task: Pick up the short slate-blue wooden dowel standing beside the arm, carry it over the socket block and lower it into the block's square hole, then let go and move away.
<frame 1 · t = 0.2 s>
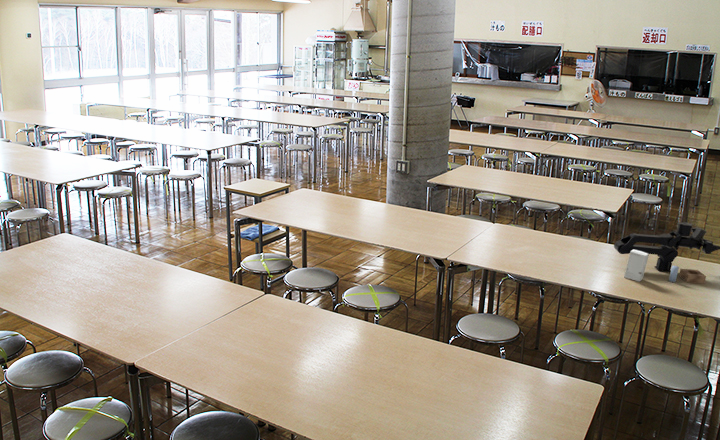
hand: (716, 245, 319), 16 cm above the table, tool horizontal, fingers open, 9 cm apart
peg: (672, 280, 310), on the table
skincare box: (633, 278, 311), on the table
socket block: (691, 279, 313), on the table
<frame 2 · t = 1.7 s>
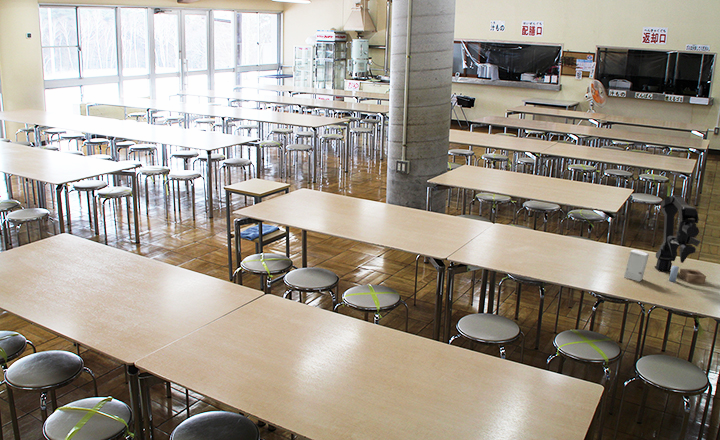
hand: (677, 259, 306), 12 cm above the table, tool pointing down, fingers open, 9 cm apart
nothing on the table moved.
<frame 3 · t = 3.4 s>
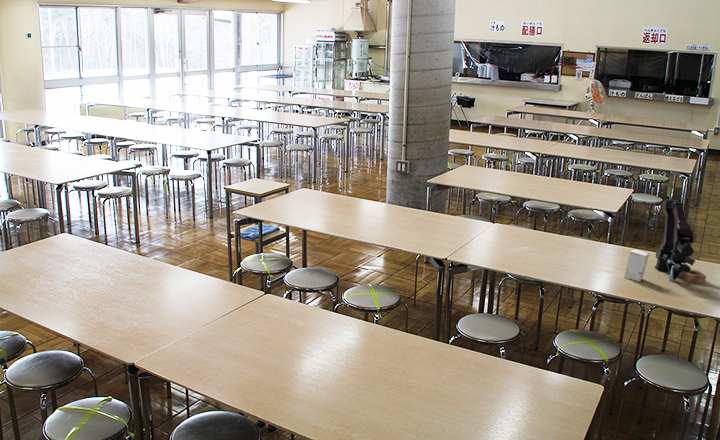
hand: (672, 278, 309), 2 cm above the table, tool pointing down, fingers closed on peg, 3 cm apart
peg: (672, 280, 310), on the table, touching gripper
everything else where it was.
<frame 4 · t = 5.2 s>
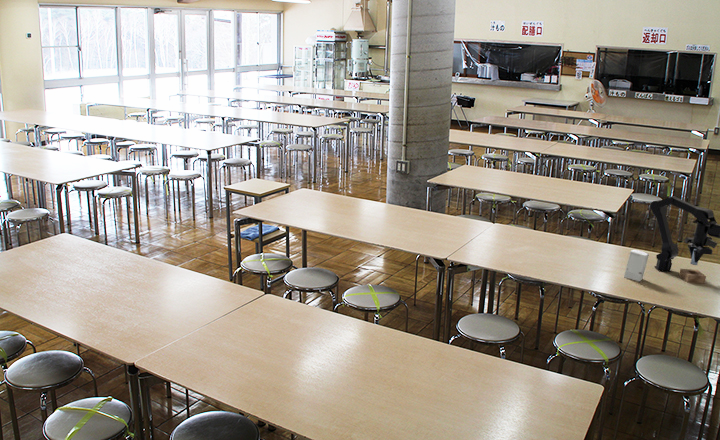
hand: (694, 261, 310), 11 cm above the table, tool pointing down, fingers closed on peg, 3 cm apart
peg: (693, 264, 310), point 9 cm above the table, touching gripper
everything else where it was.
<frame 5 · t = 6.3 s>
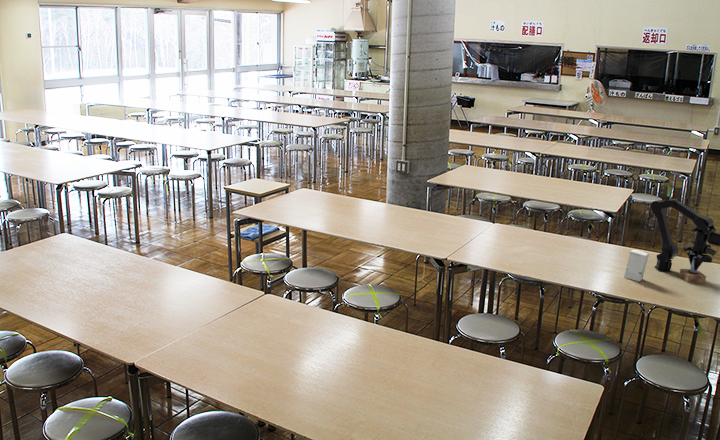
hand: (693, 268, 312), 6 cm above the table, tool pointing down, fingers closed on peg, 3 cm apart
peg: (693, 271, 312), point 4 cm above the table, touching gripper
everything else where it was.
when the fingers open (5 cm above the table, at t = 6.9 s): peg drops 3 cm, resting in socket block.
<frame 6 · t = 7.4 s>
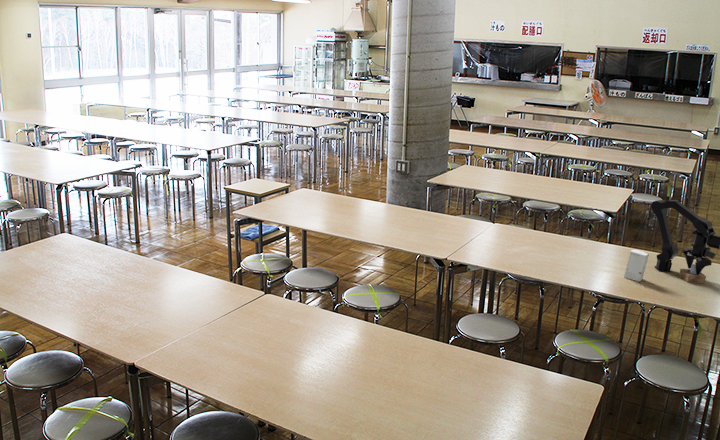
hand: (693, 271, 312), 4 cm above the table, tool pointing down, fingers open, 8 cm apart
peg: (691, 279, 313), resting in socket block
everything else where it was.
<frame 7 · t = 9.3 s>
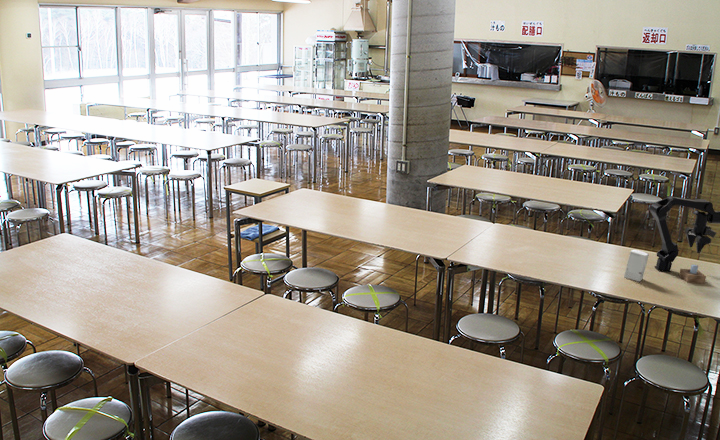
hand: (694, 250, 322), 12 cm above the table, tool pointing down, fingers open, 9 cm apart
nothing on the table moved.
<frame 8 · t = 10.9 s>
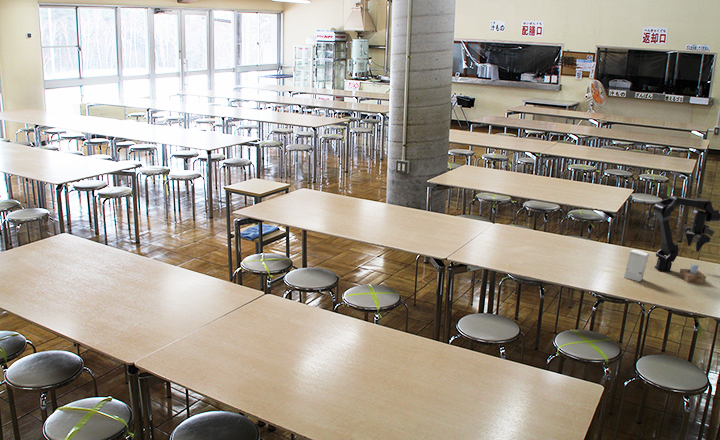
hand: (693, 248, 325), 12 cm above the table, tool pointing down, fingers open, 9 cm apart
nothing on the table moved.
at the end: peg 0.0 cm off-centre on the socket block, point 0.0 cm above the socket block's base; peg tilted 0°; the gripper is holding nothing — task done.
